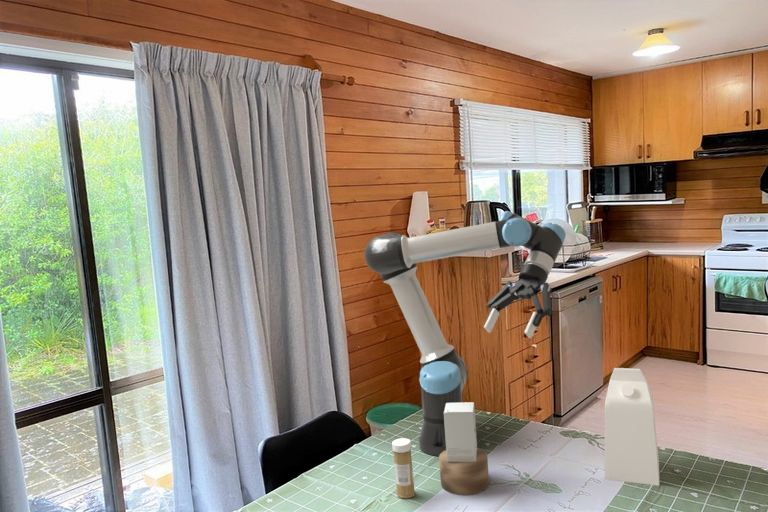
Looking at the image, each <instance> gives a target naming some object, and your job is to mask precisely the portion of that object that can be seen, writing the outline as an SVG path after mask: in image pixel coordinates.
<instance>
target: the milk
mask: <svg viewBox="0 0 768 512" xmlns="http://www.w3.org/2000/svg"><path fill="white" fill-rule="evenodd" d="M656 429H657V428H656V418H655V405H654V397H653V391H652V389H651V387H650V385H649V382H648V381H647V379H646V377H645V375H644V373H643V371H642V370H641V368H629V367H627V368H626V367H625V368H624V367H614V368H613V370H612V373H611V376H610V379H609V383H608V387H607V391H606V395H605V401H604V480H608V481H617V482H627V483H633V484H642V485H651V486H659V487H660V463H659V462H660V461H659V451H658V441H657V439H658V438H657V430H656Z"/></svg>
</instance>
